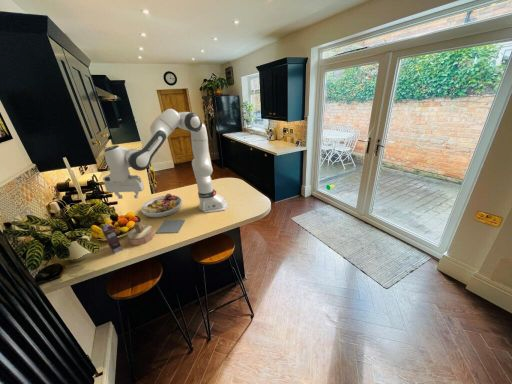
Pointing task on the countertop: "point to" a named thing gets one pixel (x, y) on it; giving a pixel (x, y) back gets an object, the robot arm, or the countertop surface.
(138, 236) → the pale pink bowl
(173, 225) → the mat
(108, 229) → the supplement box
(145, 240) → the bowl
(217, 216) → the countertop surface
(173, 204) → the bowl
